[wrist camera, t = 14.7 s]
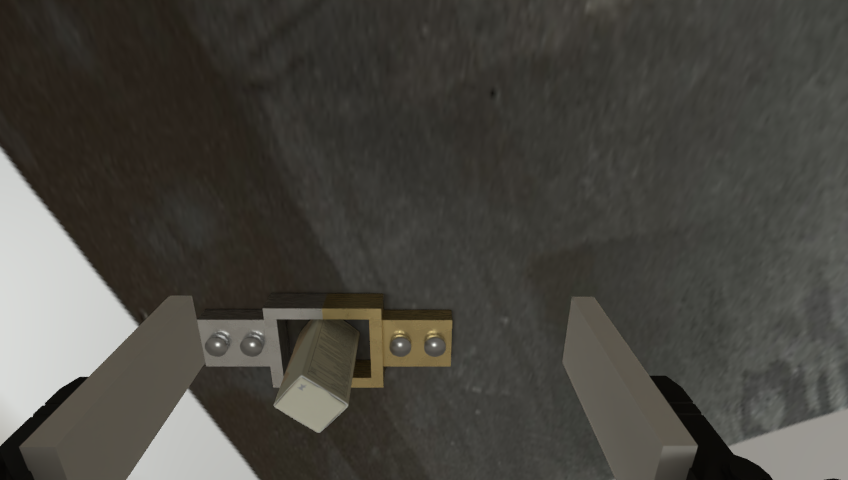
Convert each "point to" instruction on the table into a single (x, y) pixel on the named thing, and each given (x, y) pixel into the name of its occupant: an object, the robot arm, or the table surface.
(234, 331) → the link
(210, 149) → the table surface
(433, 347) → the link
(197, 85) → the table surface
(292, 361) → the box
